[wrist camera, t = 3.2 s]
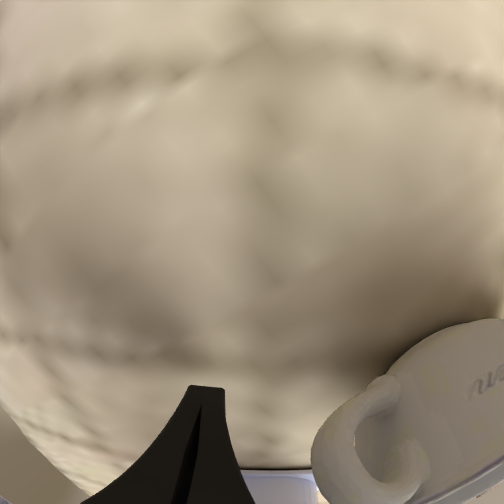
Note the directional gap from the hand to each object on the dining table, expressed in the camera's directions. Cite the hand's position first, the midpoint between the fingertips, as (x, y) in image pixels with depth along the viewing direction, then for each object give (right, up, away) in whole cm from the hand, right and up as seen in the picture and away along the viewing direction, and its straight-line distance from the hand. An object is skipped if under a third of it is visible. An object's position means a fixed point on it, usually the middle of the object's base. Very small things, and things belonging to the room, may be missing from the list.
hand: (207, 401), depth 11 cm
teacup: (+10, 0, +2) cm, 10 cm away
